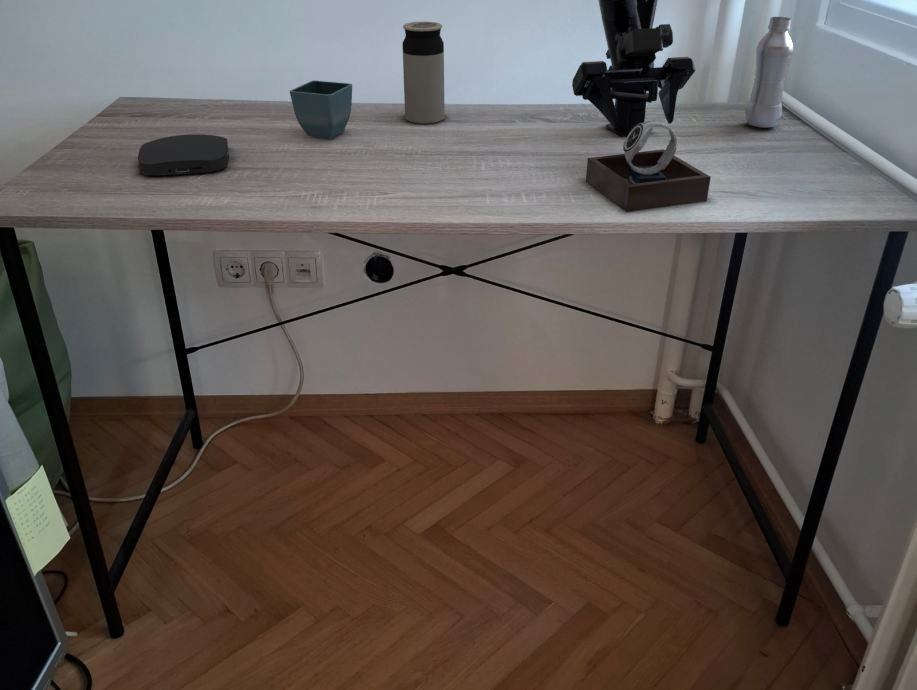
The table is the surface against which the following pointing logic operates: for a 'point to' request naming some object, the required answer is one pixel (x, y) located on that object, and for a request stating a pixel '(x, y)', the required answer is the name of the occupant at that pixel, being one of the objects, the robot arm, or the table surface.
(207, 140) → the media streaming box
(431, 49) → the travel mug
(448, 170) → the table surface
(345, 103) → the flower pot
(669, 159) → the watch
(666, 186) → the tray
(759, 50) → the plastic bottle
